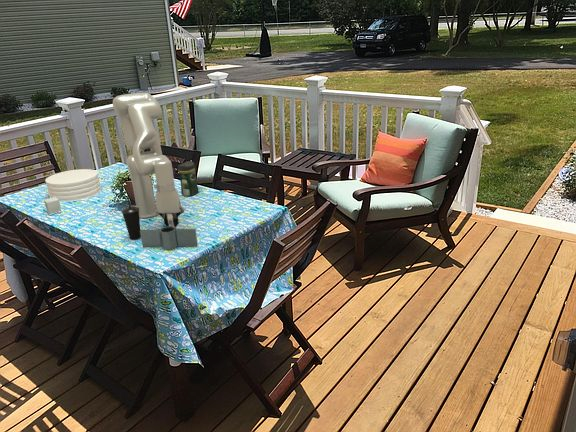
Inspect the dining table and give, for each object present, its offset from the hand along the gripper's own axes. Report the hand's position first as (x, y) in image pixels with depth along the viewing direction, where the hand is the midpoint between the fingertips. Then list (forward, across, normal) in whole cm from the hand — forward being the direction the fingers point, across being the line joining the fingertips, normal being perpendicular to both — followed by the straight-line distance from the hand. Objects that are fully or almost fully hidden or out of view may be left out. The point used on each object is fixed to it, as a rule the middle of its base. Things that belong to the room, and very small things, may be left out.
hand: (171, 225), depth 214 cm
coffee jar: (+5, -6, +56) cm, 57 cm away
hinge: (+5, +2, -12) cm, 13 cm away
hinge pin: (+5, 0, 0) cm, 5 cm away
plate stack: (+5, -75, +60) cm, 96 cm away
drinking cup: (+5, -17, -2) cm, 18 cm away
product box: (+5, -73, +32) cm, 80 cm away
